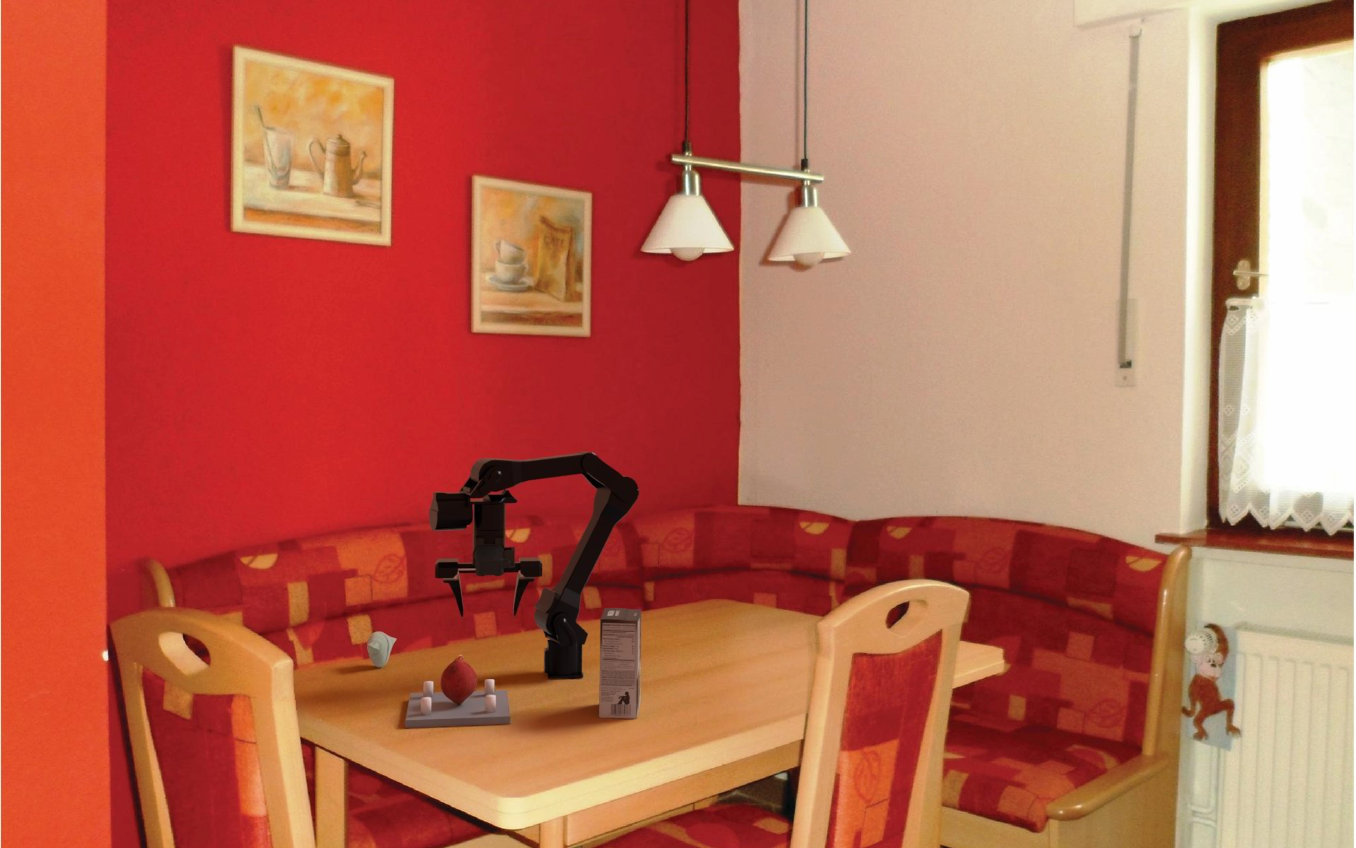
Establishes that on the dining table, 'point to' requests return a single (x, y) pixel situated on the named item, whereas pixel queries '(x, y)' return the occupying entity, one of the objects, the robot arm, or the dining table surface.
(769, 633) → the dining table surface
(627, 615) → the coffee box
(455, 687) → the onion
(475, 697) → the plate
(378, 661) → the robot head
